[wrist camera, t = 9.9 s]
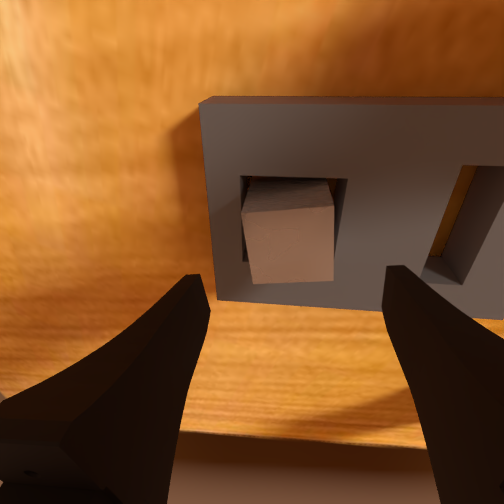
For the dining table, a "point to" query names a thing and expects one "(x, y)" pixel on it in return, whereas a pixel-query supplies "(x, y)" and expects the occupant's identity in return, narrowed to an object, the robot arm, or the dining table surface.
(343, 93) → the dining table surface
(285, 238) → the square bit
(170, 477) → the robot arm
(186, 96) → the dining table surface
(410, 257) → the socket block
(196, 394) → the dining table surface
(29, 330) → the dining table surface
